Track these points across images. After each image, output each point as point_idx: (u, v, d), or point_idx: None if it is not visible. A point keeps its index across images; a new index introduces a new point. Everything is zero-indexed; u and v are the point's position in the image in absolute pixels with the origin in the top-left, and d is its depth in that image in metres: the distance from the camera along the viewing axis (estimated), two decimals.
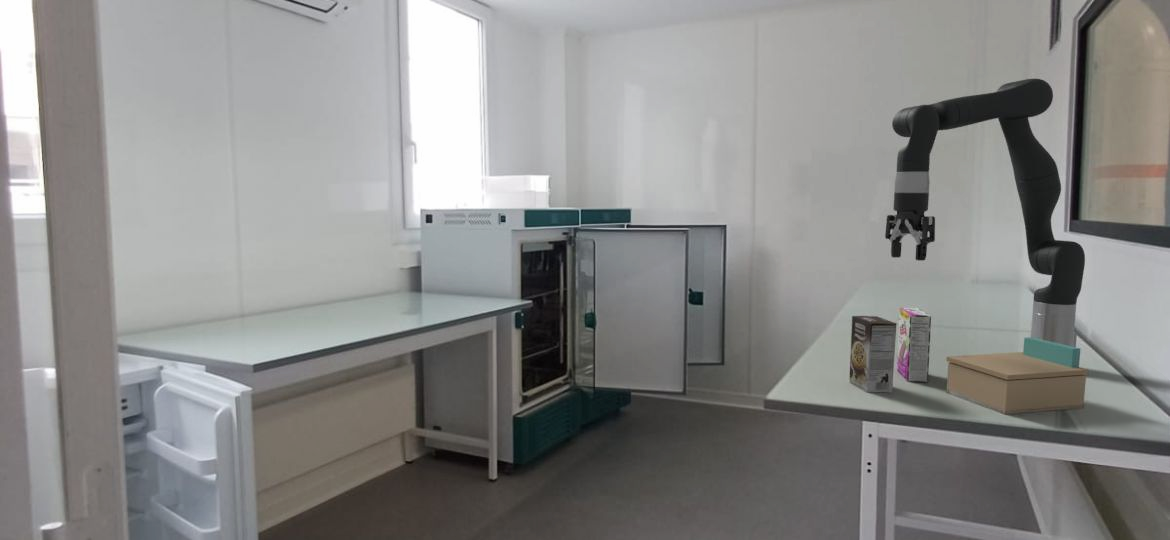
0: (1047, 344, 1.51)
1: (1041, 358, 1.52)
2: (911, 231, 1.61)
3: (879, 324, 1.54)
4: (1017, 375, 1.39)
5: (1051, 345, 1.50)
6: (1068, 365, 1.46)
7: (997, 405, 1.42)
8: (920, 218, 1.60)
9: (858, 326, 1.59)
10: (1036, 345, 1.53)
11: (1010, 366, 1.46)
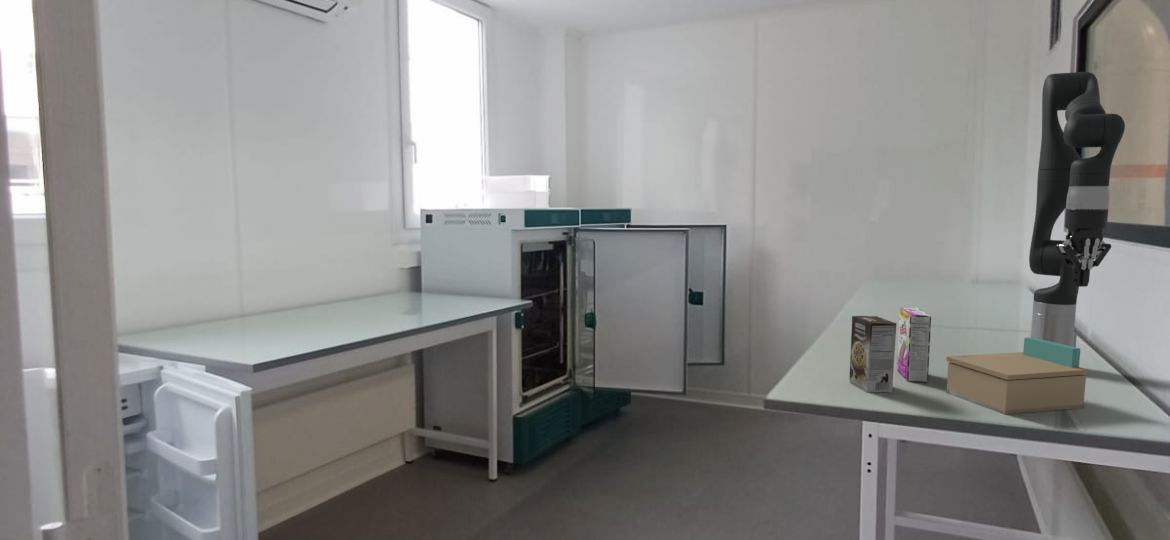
0: (1047, 344, 1.51)
1: (1041, 358, 1.52)
2: (1094, 253, 1.49)
3: (879, 324, 1.54)
4: (1017, 375, 1.39)
5: (1051, 345, 1.50)
6: (1068, 365, 1.46)
7: (997, 405, 1.42)
8: (1101, 240, 1.50)
9: (858, 326, 1.58)
10: (1036, 345, 1.53)
11: (1010, 366, 1.46)
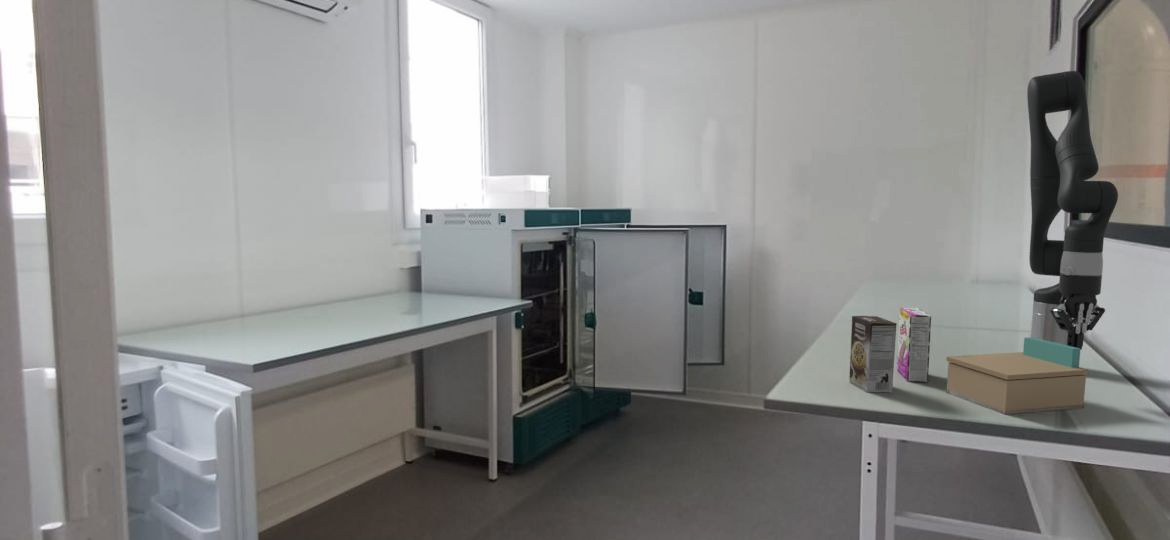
0: (1047, 344, 1.51)
1: (1041, 358, 1.52)
2: (1087, 317, 1.50)
3: (879, 324, 1.54)
4: (1017, 375, 1.39)
5: (1051, 345, 1.50)
6: (1068, 365, 1.46)
7: (997, 405, 1.42)
8: None
9: (858, 326, 1.58)
10: (1036, 345, 1.53)
11: (1010, 366, 1.46)
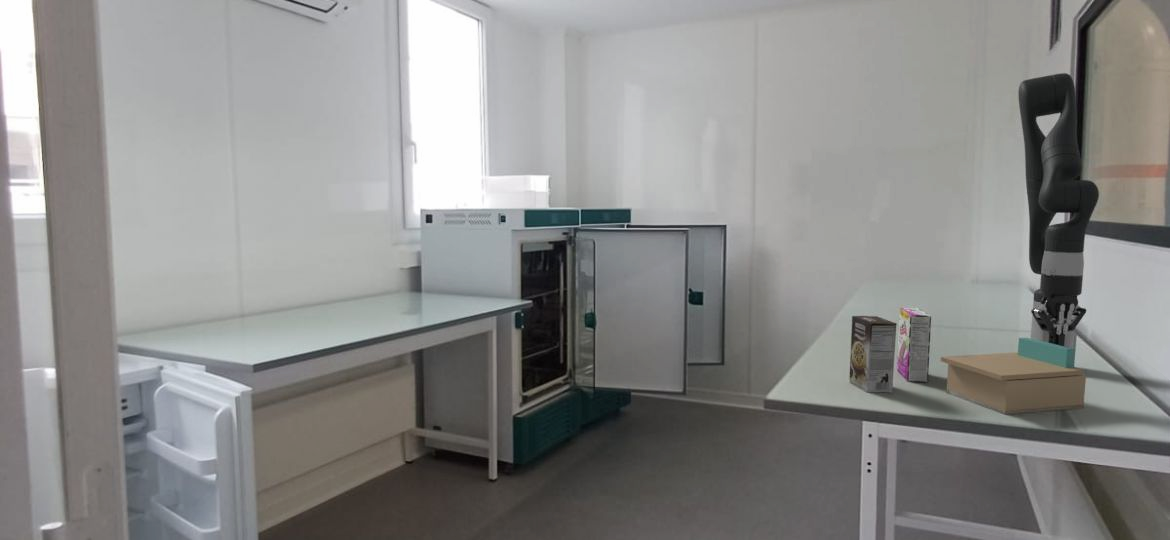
0: (1041, 344, 1.50)
1: (1035, 358, 1.52)
2: (1069, 318, 1.49)
3: (879, 324, 1.54)
4: (1011, 375, 1.39)
5: (1045, 345, 1.49)
6: (1062, 365, 1.45)
7: (997, 405, 1.42)
8: None
9: (858, 326, 1.58)
10: (1030, 345, 1.53)
11: (1004, 366, 1.45)
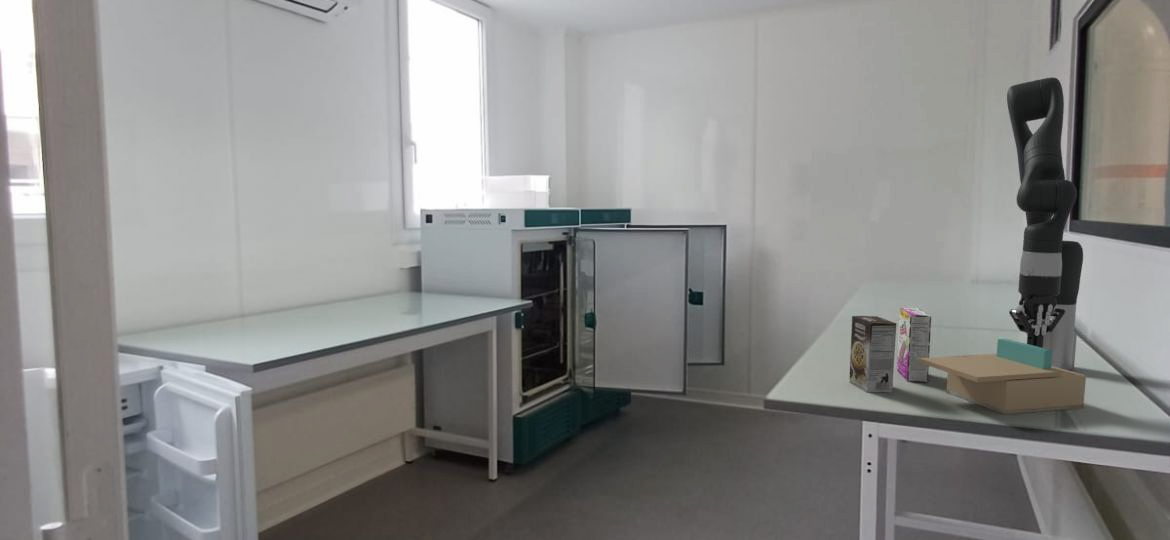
0: (1020, 346, 1.49)
1: (1014, 360, 1.50)
2: (1047, 319, 1.47)
3: (879, 324, 1.54)
4: (987, 377, 1.37)
5: (1024, 347, 1.48)
6: (1040, 367, 1.44)
7: (997, 405, 1.42)
8: None
9: (858, 326, 1.58)
10: (1009, 347, 1.52)
11: (981, 368, 1.44)
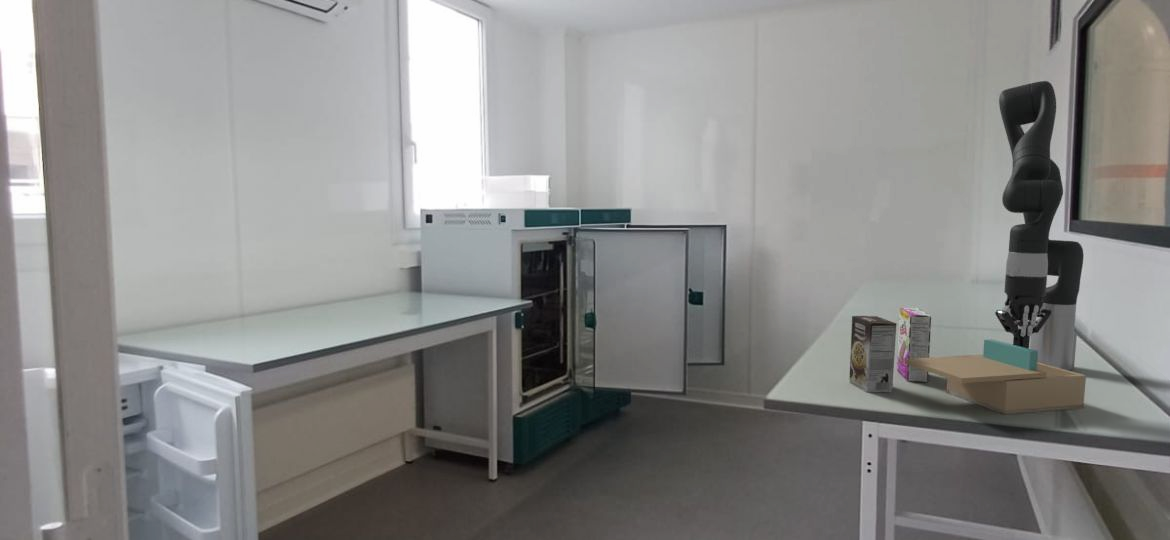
0: (1006, 346, 1.48)
1: (1000, 361, 1.49)
2: (1033, 320, 1.47)
3: (879, 324, 1.54)
4: (972, 378, 1.37)
5: (1010, 347, 1.47)
6: (1026, 368, 1.43)
7: (997, 405, 1.42)
8: None
9: (858, 326, 1.58)
10: (995, 347, 1.51)
11: (967, 369, 1.43)
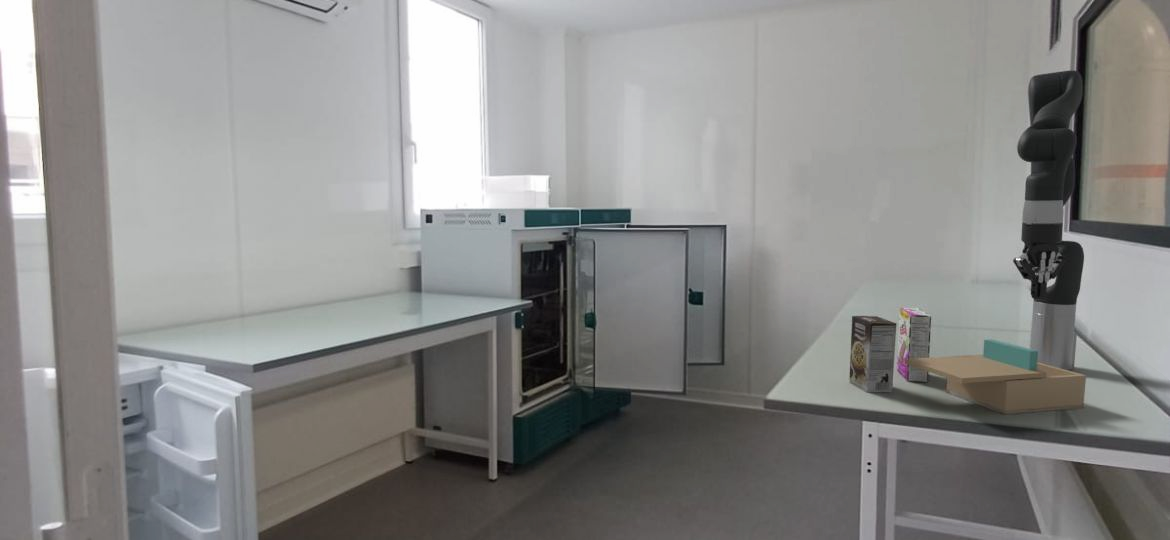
0: (1006, 346, 1.48)
1: (1000, 361, 1.49)
2: (1050, 266, 1.51)
3: (879, 324, 1.54)
4: (972, 378, 1.37)
5: (1010, 347, 1.47)
6: (1026, 368, 1.43)
7: (997, 405, 1.42)
8: None
9: (858, 326, 1.58)
10: (995, 347, 1.51)
11: (967, 369, 1.43)
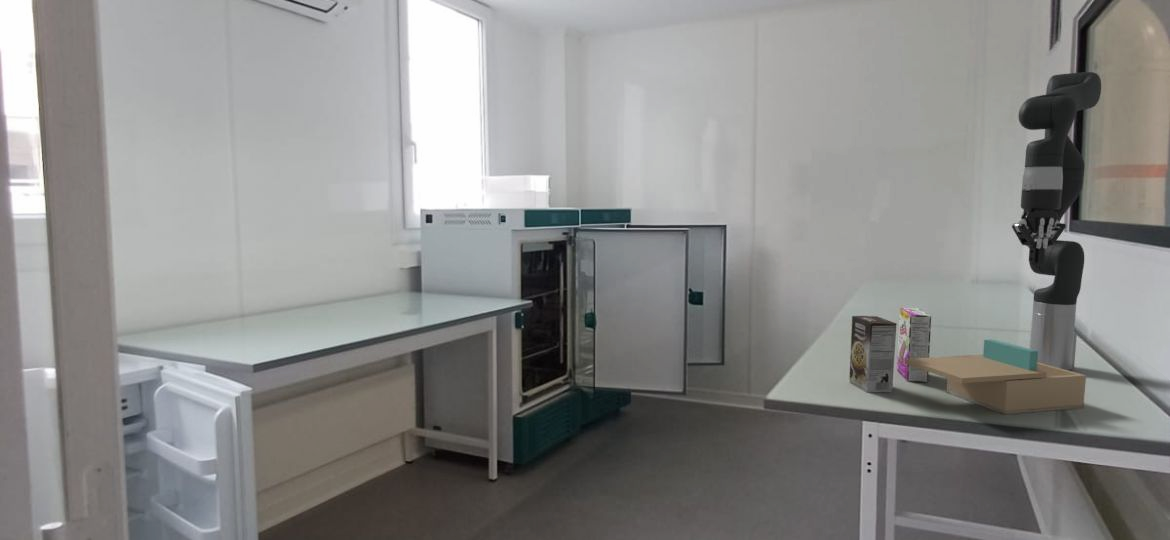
0: (1006, 346, 1.48)
1: (1000, 361, 1.49)
2: (1048, 232, 1.53)
3: (879, 324, 1.54)
4: (972, 378, 1.37)
5: (1010, 347, 1.47)
6: (1026, 368, 1.43)
7: (997, 405, 1.42)
8: None
9: (858, 326, 1.58)
10: (995, 347, 1.51)
11: (967, 369, 1.43)
